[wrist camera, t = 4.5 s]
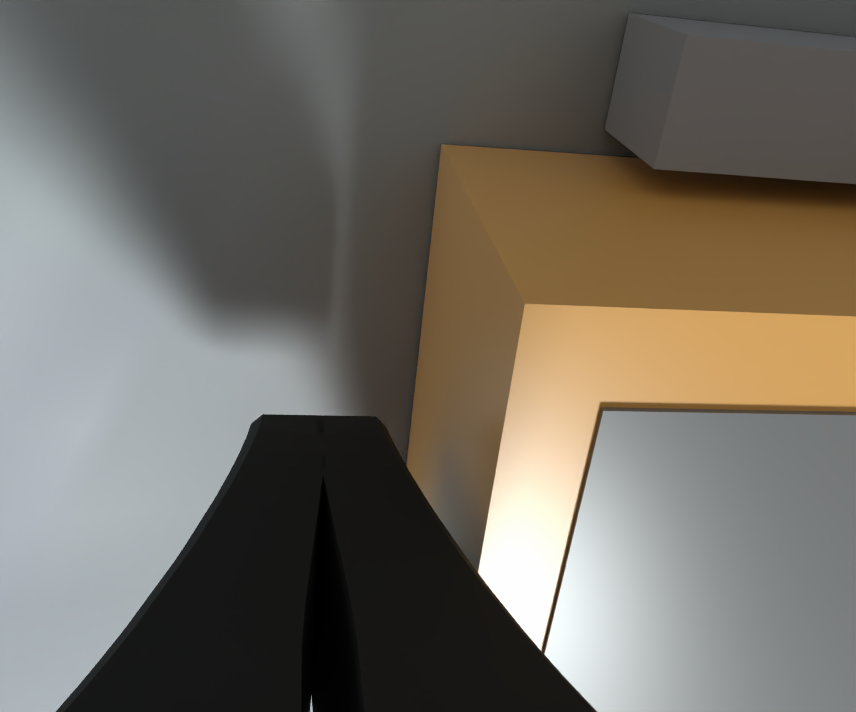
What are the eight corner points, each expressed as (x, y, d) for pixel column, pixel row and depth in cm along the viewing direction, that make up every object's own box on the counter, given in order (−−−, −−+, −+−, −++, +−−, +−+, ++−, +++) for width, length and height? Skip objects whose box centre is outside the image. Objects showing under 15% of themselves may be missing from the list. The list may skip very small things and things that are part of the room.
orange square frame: (838, 555, 13) (1036, 802, 9) (396, 560, 12) (432, 842, 8) (1006, 183, 10) (1382, 339, 6) (441, 144, 9) (526, 307, 5)
